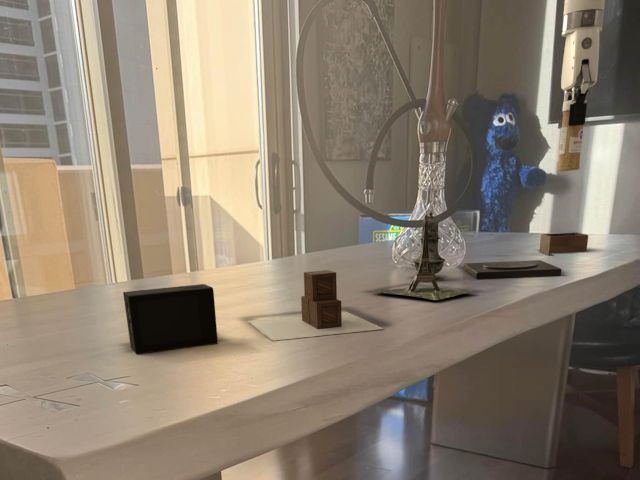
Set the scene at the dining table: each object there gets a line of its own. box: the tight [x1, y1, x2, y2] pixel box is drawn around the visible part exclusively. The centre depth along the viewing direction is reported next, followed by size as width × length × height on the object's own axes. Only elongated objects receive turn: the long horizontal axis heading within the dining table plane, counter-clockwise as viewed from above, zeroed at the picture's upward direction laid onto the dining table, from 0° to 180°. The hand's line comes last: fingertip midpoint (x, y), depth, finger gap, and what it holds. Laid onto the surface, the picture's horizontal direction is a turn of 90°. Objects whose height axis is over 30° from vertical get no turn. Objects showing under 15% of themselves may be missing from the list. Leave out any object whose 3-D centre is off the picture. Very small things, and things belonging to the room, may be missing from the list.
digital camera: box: [122, 283, 219, 355], centre depth 86 cm, size 10×5×7 cm, turn 110°
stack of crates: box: [247, 269, 385, 342], centre depth 93 cm, size 15×15×7 cm
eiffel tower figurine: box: [372, 207, 473, 301], centre depth 111 cm, size 15×10×13 cm
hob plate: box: [463, 259, 562, 280], centre depth 133 cm, size 15×15×2 cm
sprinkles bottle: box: [557, 100, 588, 172], centre depth 147 cm, size 5×5×14 cm
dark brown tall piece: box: [412, 211, 446, 283], centre depth 127 cm, size 6×6×12 cm
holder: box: [538, 232, 589, 256], centre depth 158 cm, size 8×8×4 cm
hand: (572, 125), depth 146 cm, fingers closed on sprinkles bottle, 4 cm apart
